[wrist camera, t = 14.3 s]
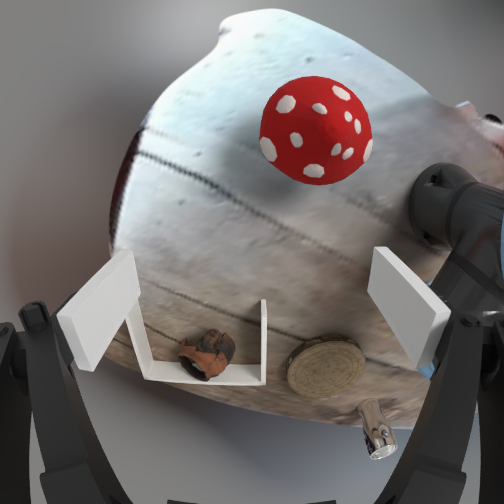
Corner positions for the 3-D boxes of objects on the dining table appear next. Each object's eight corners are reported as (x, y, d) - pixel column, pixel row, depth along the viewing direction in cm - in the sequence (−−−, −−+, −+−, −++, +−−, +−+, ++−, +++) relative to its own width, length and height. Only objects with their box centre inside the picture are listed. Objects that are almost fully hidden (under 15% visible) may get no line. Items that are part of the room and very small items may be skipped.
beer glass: (368, 394, 59) (386, 443, 45) (386, 399, 60) (404, 445, 46) (349, 410, 61) (362, 458, 47) (367, 415, 63) (381, 460, 49)
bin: (265, 299, 49) (266, 316, 44) (264, 367, 55) (265, 385, 50) (133, 297, 49) (123, 312, 44) (150, 362, 55) (144, 379, 50)
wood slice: (373, 337, 53) (378, 347, 50) (342, 390, 58) (345, 399, 56) (300, 327, 51) (302, 337, 49) (276, 384, 57) (277, 394, 54)
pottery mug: (236, 363, 55) (213, 392, 49) (198, 340, 58) (173, 365, 52) (244, 327, 48) (217, 360, 42) (199, 301, 51) (169, 329, 45)
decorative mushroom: (368, 116, 37) (419, 110, 24) (329, 194, 42) (364, 222, 28) (284, 70, 35) (300, 37, 21) (243, 152, 40) (238, 159, 26)
